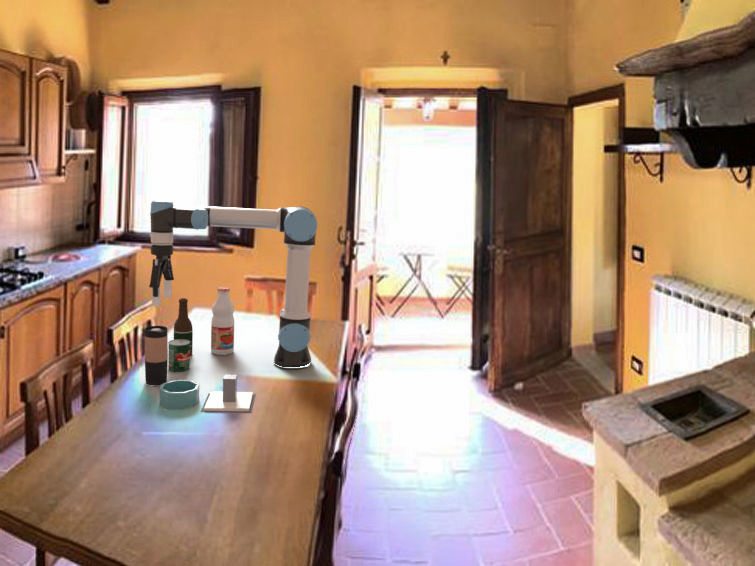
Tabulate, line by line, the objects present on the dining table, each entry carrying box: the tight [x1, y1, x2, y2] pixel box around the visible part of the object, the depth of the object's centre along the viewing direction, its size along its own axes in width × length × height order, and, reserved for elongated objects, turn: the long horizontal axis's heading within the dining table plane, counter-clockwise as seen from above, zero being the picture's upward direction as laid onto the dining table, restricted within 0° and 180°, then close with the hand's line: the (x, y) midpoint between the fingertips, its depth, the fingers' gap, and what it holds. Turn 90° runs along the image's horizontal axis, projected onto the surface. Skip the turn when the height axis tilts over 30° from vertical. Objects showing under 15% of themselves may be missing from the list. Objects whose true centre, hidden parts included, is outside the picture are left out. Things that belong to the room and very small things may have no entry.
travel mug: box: [144, 325, 169, 387], centre depth 200 cm, size 8×8×20 cm
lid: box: [204, 374, 254, 411], centre depth 186 cm, size 14×14×9 cm
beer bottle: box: [173, 297, 194, 358], centre depth 230 cm, size 8×8×24 cm
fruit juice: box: [210, 286, 235, 356], centre depth 238 cm, size 9×9×28 cm
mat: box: [200, 392, 257, 414], centre depth 187 cm, size 16×16×1 cm
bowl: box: [159, 379, 200, 410], centre depth 184 cm, size 12×12×6 cm
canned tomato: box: [167, 339, 191, 374], centre depth 215 cm, size 8×8×11 cm
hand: (162, 301), depth 206 cm, fingers open, 13 cm apart
